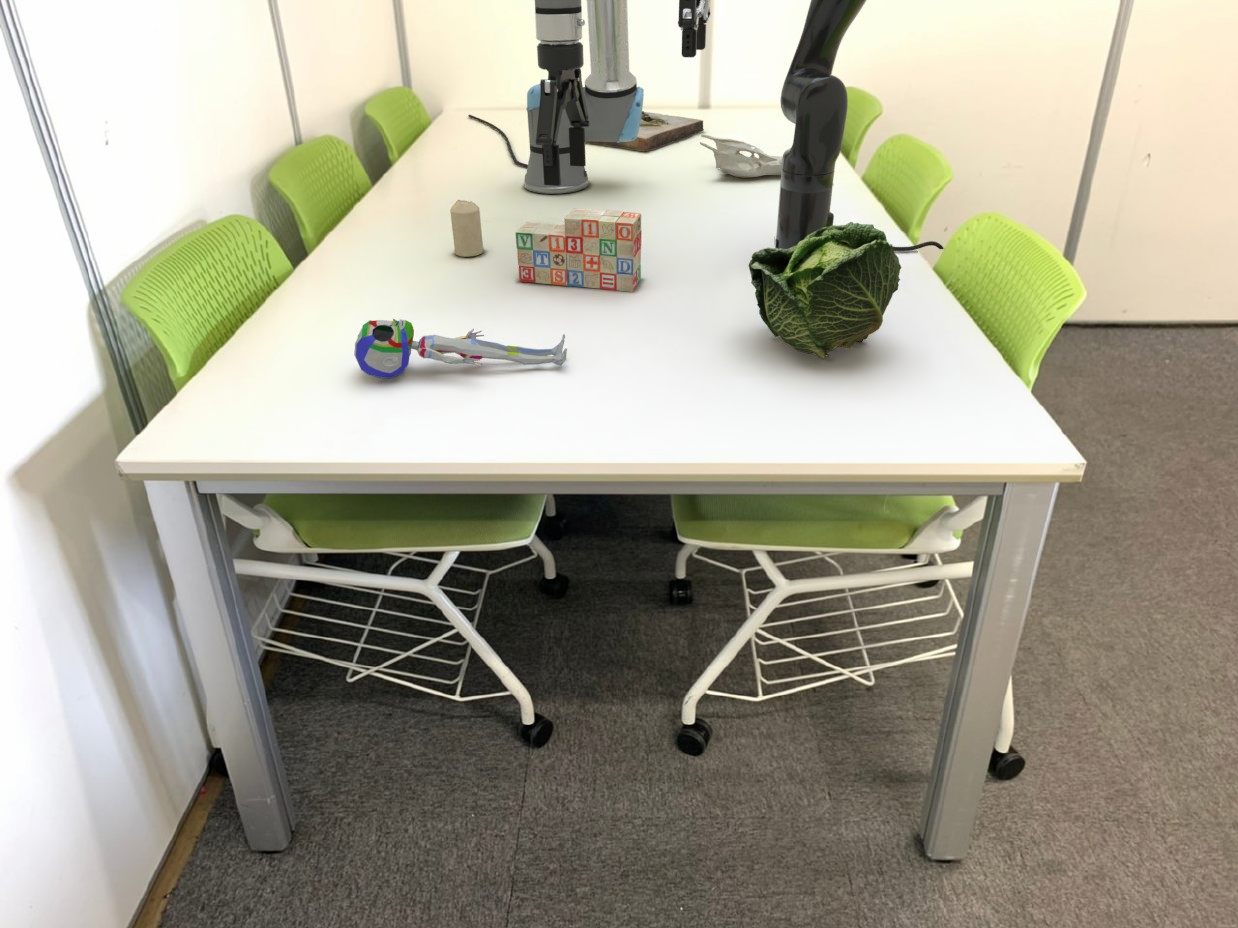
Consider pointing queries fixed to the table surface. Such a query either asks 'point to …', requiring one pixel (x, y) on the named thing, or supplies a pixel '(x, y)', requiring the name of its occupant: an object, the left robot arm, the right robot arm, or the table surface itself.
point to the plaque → (658, 131)
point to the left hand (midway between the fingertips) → (565, 175)
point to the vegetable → (826, 287)
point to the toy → (435, 349)
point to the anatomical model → (743, 159)
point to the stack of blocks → (583, 250)
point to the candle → (466, 228)
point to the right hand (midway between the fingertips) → (693, 53)
